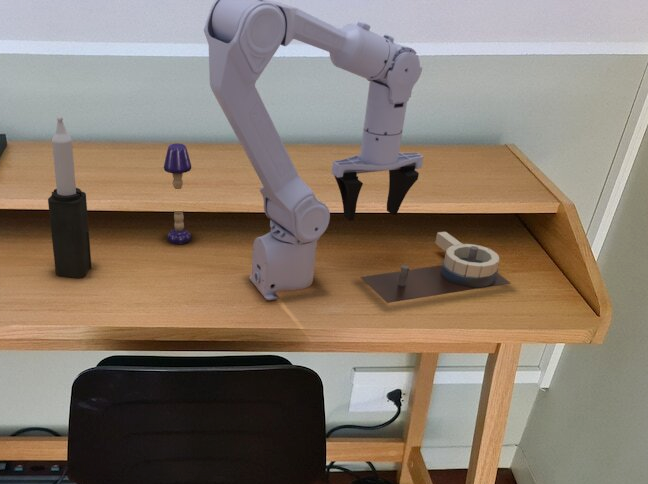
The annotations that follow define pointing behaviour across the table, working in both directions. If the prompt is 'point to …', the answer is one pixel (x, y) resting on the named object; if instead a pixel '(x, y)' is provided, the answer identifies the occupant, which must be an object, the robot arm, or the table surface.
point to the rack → (429, 281)
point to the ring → (460, 250)
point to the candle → (68, 212)
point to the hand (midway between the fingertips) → (370, 215)
